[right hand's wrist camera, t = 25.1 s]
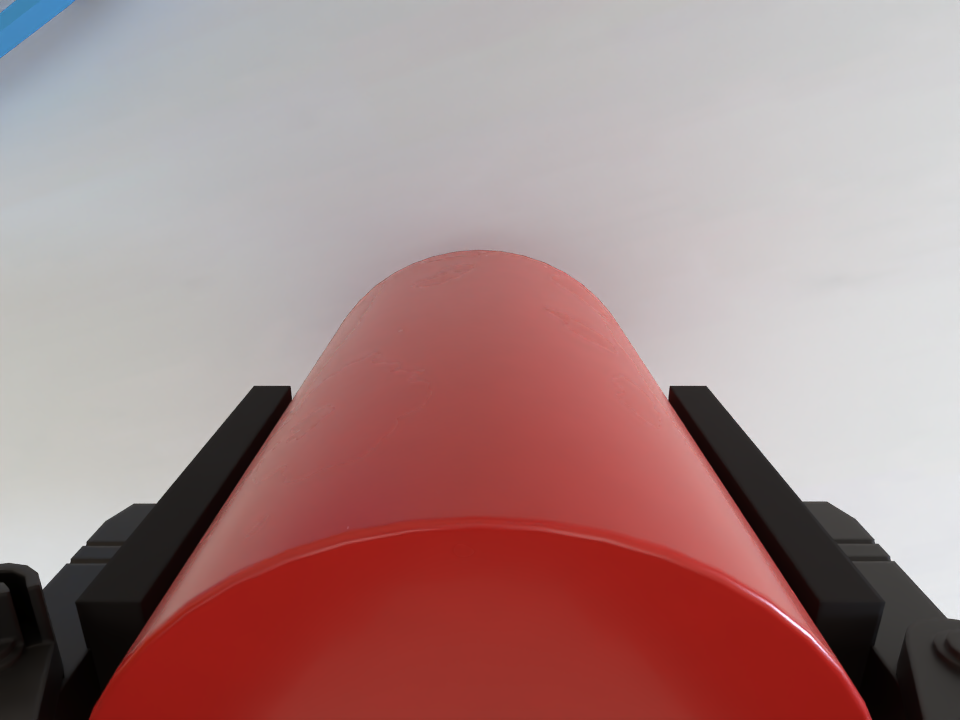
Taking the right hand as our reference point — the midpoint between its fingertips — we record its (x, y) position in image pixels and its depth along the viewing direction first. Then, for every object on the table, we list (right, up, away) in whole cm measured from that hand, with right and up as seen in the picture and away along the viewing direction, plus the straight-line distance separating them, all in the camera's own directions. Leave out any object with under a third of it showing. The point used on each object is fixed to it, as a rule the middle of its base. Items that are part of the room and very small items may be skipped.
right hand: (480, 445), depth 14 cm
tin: (0, +1, +2) cm, 3 cm away
